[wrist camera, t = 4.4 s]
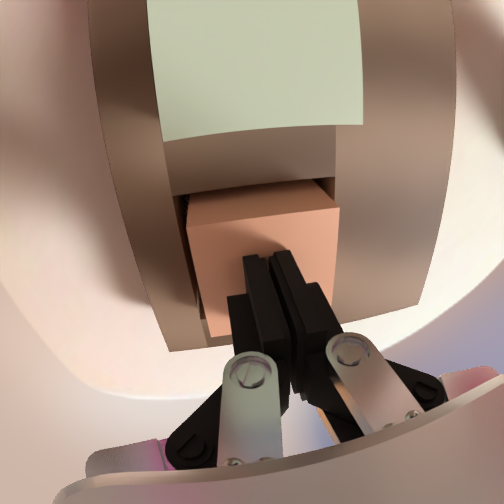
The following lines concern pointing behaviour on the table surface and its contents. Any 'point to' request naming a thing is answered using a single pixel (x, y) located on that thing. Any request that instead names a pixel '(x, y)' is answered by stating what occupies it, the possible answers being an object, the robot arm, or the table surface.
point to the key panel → (290, 162)
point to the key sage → (255, 64)
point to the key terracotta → (259, 238)
